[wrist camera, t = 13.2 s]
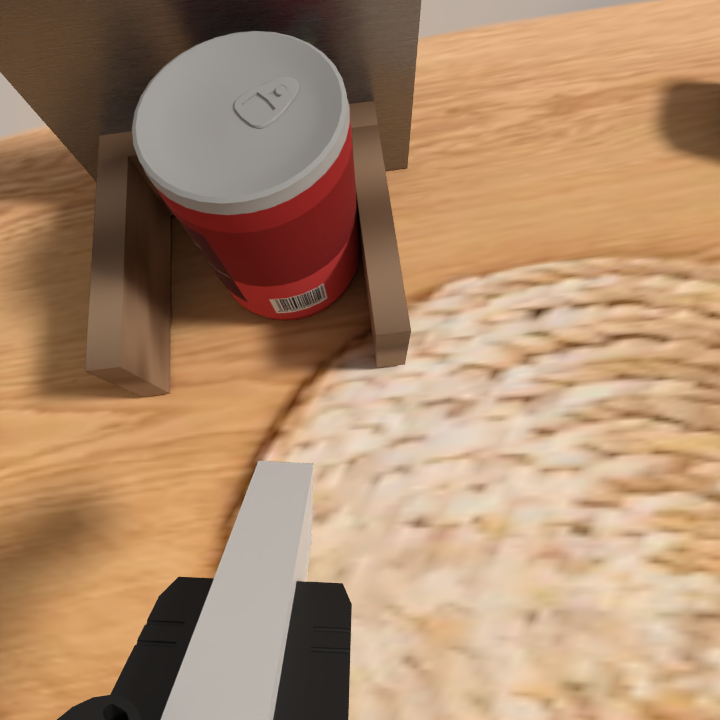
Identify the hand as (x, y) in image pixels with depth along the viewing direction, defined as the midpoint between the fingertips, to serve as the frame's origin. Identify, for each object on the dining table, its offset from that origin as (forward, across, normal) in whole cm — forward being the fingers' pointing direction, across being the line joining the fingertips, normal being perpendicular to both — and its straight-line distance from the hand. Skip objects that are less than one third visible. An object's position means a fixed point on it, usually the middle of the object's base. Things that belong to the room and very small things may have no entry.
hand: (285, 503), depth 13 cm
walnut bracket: (+16, -4, +3) cm, 16 cm away
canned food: (+17, -2, +4) cm, 17 cm away
